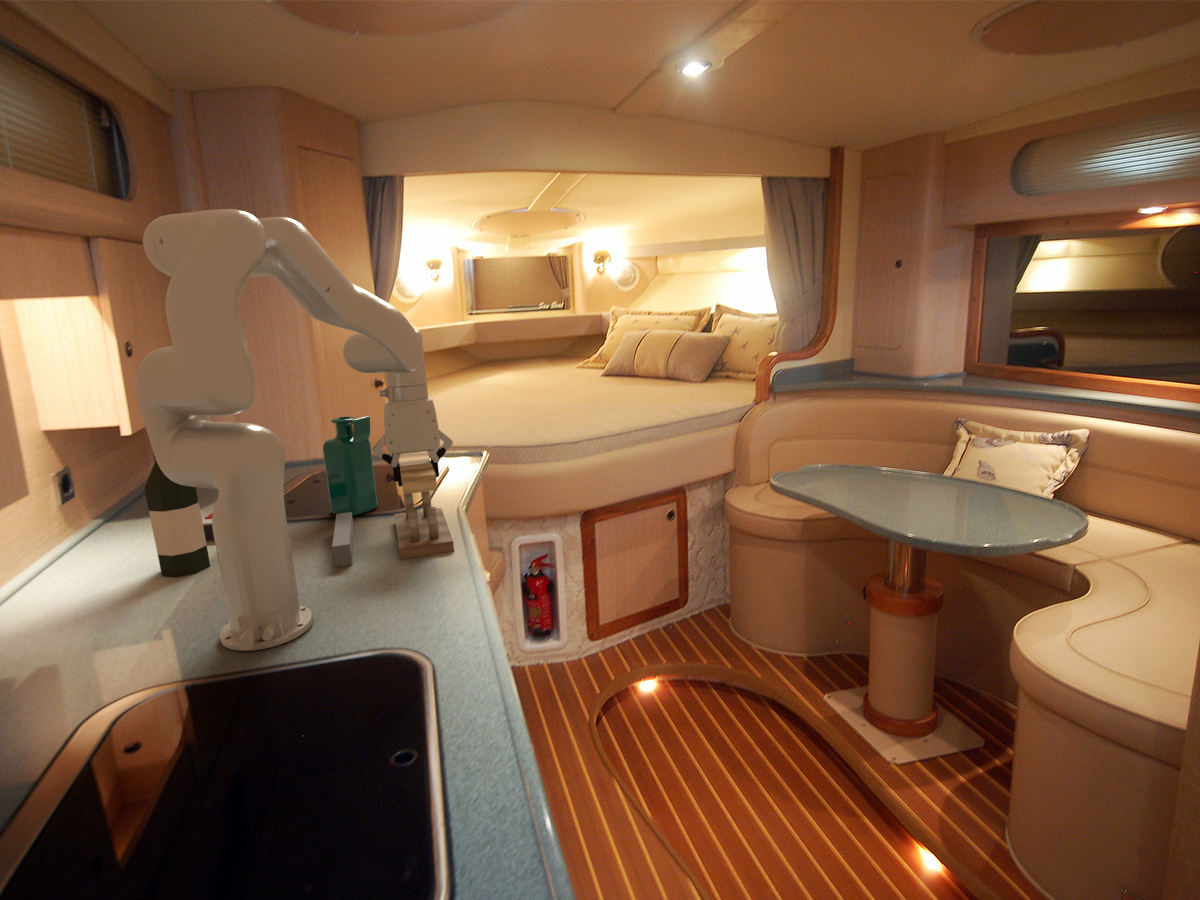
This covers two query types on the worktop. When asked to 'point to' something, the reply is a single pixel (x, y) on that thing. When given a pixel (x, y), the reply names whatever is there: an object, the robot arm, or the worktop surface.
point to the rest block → (343, 539)
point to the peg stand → (422, 529)
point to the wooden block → (417, 472)
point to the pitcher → (350, 467)
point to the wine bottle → (176, 525)
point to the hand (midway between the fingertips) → (417, 481)
